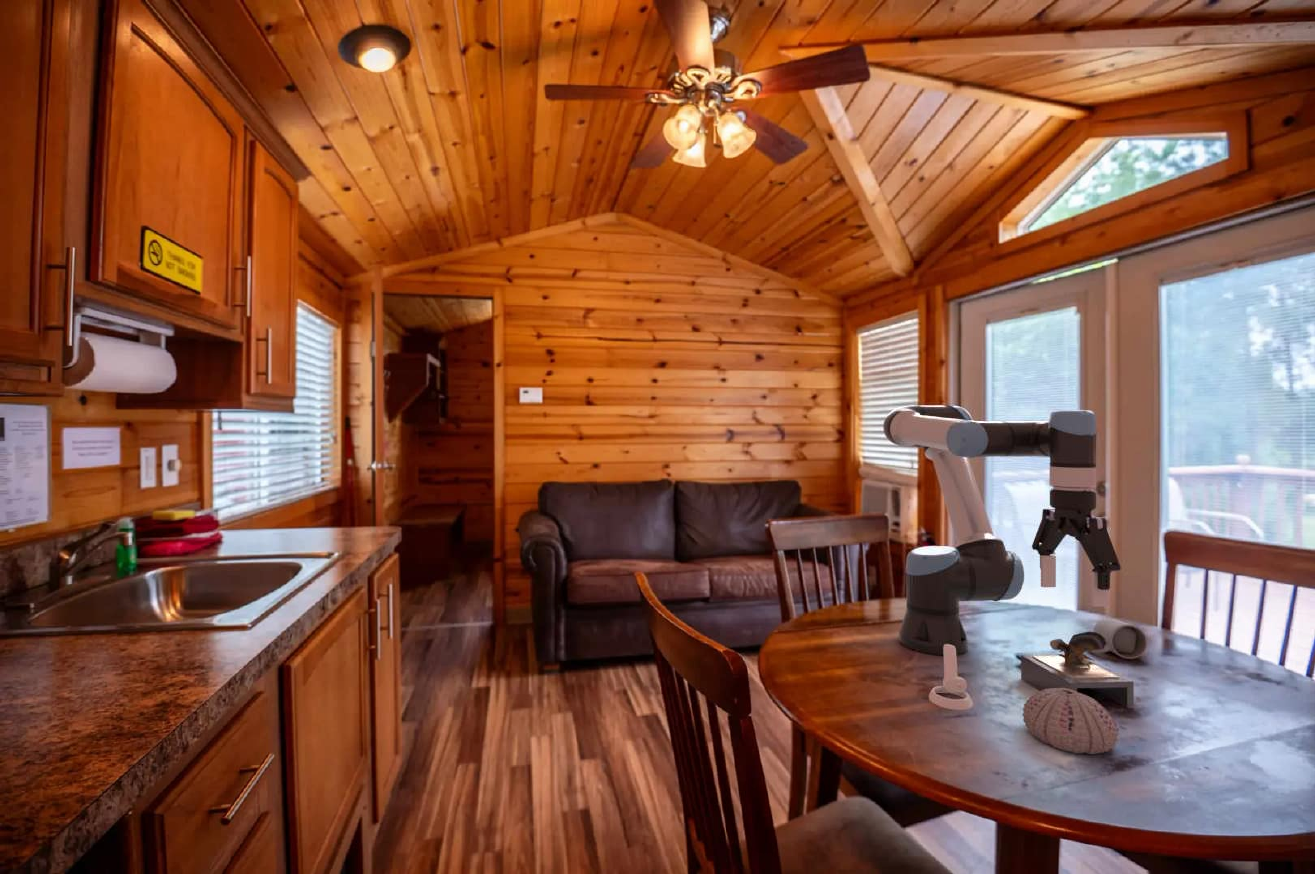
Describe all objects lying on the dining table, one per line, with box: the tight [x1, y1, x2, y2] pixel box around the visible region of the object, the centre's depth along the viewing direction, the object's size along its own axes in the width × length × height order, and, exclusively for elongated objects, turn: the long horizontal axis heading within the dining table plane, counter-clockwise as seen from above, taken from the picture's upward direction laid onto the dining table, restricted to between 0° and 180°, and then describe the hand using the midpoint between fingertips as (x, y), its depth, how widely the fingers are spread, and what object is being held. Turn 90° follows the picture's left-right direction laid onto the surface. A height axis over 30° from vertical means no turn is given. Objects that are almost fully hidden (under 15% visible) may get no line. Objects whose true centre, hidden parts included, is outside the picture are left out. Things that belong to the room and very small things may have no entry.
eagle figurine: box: [1049, 631, 1107, 668], centre depth 117 cm, size 8×7×9 cm
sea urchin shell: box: [1022, 688, 1120, 755], centre depth 99 cm, size 13×14×8 cm
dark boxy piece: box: [1020, 653, 1135, 710], centre depth 116 cm, size 12×14×5 cm
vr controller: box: [928, 644, 974, 711], centre depth 115 cm, size 8×12×7 cm
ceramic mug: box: [1088, 618, 1148, 660], centre depth 138 cm, size 11×8×8 cm
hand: (1072, 596), depth 116 cm, fingers open, 13 cm apart
